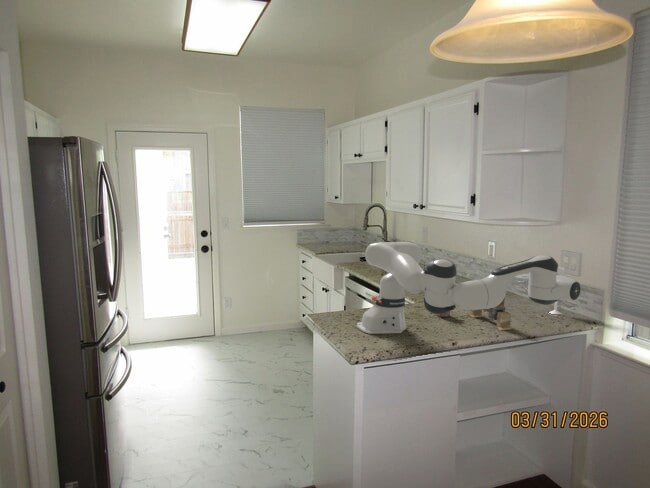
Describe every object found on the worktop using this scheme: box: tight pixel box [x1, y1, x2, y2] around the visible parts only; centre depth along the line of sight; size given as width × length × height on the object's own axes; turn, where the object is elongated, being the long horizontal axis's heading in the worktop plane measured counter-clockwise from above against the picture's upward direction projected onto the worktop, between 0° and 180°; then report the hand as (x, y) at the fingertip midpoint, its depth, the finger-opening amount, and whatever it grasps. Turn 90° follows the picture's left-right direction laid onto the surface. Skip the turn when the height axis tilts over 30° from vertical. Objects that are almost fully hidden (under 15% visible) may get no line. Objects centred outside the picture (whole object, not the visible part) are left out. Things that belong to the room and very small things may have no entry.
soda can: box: [436, 311, 451, 318], centre depth 222 cm, size 7×7×12 cm
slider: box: [488, 296, 506, 321], centre depth 208 cm, size 4×6×16 cm, turn 109°
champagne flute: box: [548, 266, 566, 315], centre depth 229 cm, size 7×7×24 cm
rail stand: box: [466, 309, 514, 331], centre depth 213 cm, size 25×7×7 cm, turn 18°
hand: (518, 275), depth 194 cm, fingers closed
